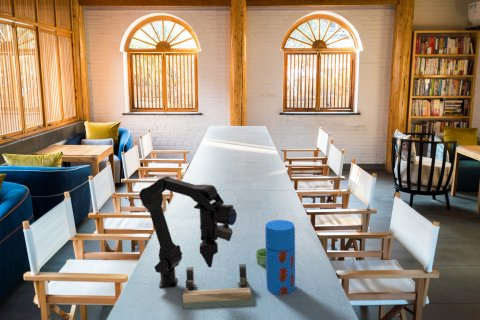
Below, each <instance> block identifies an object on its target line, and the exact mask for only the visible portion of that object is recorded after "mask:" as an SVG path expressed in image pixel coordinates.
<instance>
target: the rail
mask: <svg viewBox="0 0 480 320" xmlns="http://www.w3.org/2000/svg"><path fill="white" fill-rule="evenodd" d="M250 291H251V287H249V288H238V287H235V288H219V289H202V290H201V289H200V290H199V289H198V290H197V289H196V290H195V291H185V290H183V292H182V293H183V294H182V302H183V303H193V302H211V301H230V300H248V299H251V292H250Z"/></svg>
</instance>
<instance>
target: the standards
mask: <svg viewBox="0 0 480 320" xmlns="http://www.w3.org/2000/svg"><path fill="white" fill-rule="evenodd" d="M238 265H239V266H238V268H239V270H238V271H239V281H237V288H250V285H249V281H248V277H247V265H246V264H245V263H241V264H240V263H239V264H238ZM185 271H186V272H185V273H186V280H185V288H184V291H195V290H197V284H195V274H194V273H195V272H194V266H187V267H186V269H185Z"/></svg>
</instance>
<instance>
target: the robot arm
mask: <svg viewBox="0 0 480 320" xmlns="http://www.w3.org/2000/svg"><path fill="white" fill-rule="evenodd" d="M165 191H169V192H173V193H176V194H180V195H182V196H187V197H189V198H190V199H191V200H193V201H194V202H195V203H196V205H195V206H193V209H197V210H199V220H200V221H199V223H200V224H199V229H200V241H201V242H200V244H199V254H200V255H201V256H202V258H203V259H204V261H205V264H206V265H207V267H208V268H211V267H212V264H213V260H214V255H216V254H217V253H218V252H219V247H218V246H219V244H218V240H219V239H221V240H225V242H230V241H231V239H232V236H233V229H232V228H231V227H230V226H233V225H234V224H235V223H236V221H237V215H238V214H237V210H236V209H235V208H234V205H233V204H224V203H225V201H224V200H223V199H222V197H221V196H220V194H219V193H218V190H217V188H216V186H214V185H212V184H194V183H190V182H187V181H183V180H181V179H176V178H172V177H170V176H167V175H165V176H163V177H160V178H158V179H157V180H156V181H155V182H154V183H152V184H151V185H149V186H147V187H143V188H142V189H141V190H140V191H139V193H138V195H139V196H138V197H139V199H140V201H141V202H140V203H141V204H142V206H143V207H144V208H145V209H146V210H147V211H148V213H149V216H150V219H151V221H152V224H153V228H154V230H155V233H156V238H157V241H158V244H159V250H158V258H159V261H158V263H157V264H156V265H155V266H154V270H155V272H156V273H159V275H160V281H159V285H158V287H159V288H170V287H171V288H173V287H177V285H178V284H177V283H178V277H176V268H177V267H178V266H179V264H180V262H182V260H183V253H182V251H181V246H180V245H179V244H178V245H176V244H175V243H174V242H173V239H172V236H171V233H170V229H169V227H168V223H167V220H166V216H165V213H164V210H163V201H164V197H163V196H164V195H163V193H164V192H165ZM218 224H220V225H218ZM216 240H217V241H216Z"/></svg>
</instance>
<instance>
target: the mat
mask: <svg viewBox="0 0 480 320" xmlns="http://www.w3.org/2000/svg"><path fill="white" fill-rule="evenodd" d="M250 292H251V299H248V300H230V301H211V302H193V303H183V304H182V309H183V310H185V309H186V310H187V309H200V308H202V309H203V308H205V307H206V308H221V307H236V306H237V307H238V306H240V307H241V306H242V307H243V306H254V305H255V300H254V295H253V291H251V290H250Z"/></svg>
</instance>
